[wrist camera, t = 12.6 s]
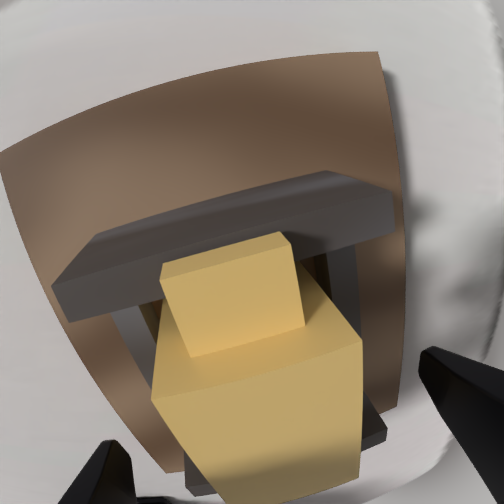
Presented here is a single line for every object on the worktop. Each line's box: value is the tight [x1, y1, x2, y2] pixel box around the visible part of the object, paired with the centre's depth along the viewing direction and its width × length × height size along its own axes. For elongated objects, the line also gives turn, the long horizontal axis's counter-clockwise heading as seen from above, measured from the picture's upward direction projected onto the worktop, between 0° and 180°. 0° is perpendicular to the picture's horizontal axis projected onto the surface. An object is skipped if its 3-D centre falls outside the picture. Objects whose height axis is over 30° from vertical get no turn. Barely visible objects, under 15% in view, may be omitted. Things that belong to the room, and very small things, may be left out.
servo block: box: [151, 231, 363, 504], centre depth 9 cm, size 10×4×6 cm, turn 13°
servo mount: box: [0, 52, 406, 497], centre depth 11 cm, size 18×14×6 cm
